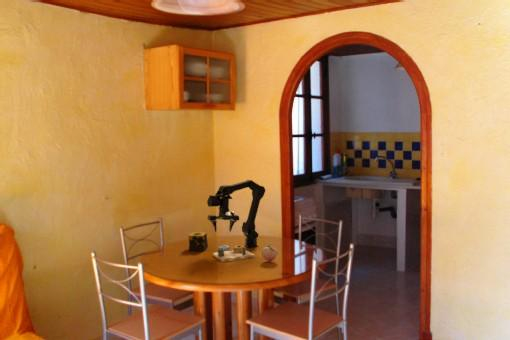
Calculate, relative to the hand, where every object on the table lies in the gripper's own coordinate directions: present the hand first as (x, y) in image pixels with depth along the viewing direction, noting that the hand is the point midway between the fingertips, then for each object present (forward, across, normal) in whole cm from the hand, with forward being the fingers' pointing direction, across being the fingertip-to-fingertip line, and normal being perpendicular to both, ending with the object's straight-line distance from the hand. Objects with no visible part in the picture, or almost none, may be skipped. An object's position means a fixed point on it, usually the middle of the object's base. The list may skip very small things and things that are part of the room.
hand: (222, 231), depth 300 cm
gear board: (+12, +3, -13) cm, 18 cm away
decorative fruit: (+12, +17, -34) cm, 40 cm away
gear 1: (+12, +1, 0) cm, 12 cm away
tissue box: (+13, -11, +13) cm, 22 cm away
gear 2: (+10, +8, -10) cm, 16 cm away
